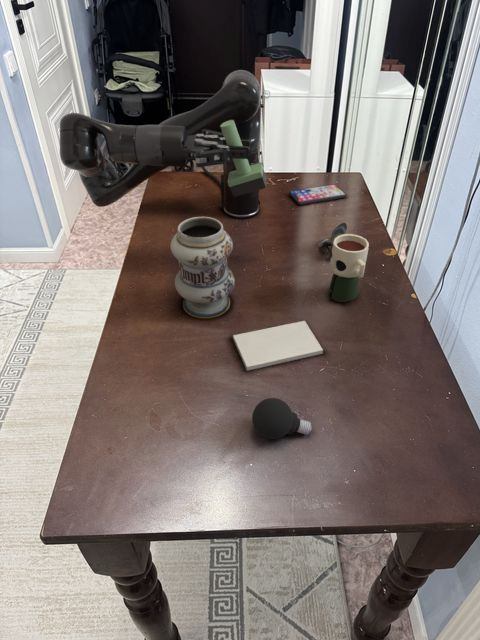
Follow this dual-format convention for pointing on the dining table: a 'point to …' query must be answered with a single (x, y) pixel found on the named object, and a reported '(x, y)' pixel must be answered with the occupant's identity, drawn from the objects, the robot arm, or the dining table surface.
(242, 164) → the scrub brush
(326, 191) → the smartphone
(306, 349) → the white tile
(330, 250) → the eagle figurine
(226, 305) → the apothecary jar
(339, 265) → the character mug
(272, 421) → the light bulb
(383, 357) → the dining table surface
